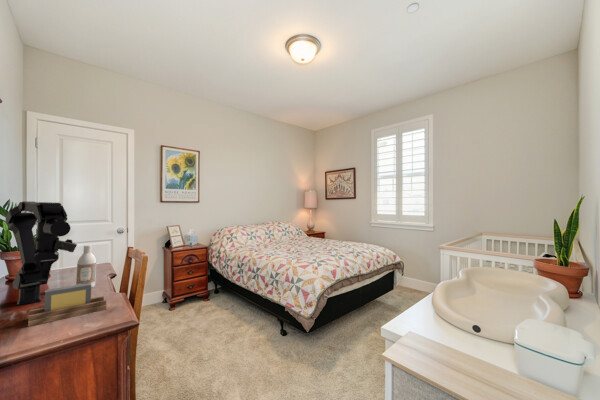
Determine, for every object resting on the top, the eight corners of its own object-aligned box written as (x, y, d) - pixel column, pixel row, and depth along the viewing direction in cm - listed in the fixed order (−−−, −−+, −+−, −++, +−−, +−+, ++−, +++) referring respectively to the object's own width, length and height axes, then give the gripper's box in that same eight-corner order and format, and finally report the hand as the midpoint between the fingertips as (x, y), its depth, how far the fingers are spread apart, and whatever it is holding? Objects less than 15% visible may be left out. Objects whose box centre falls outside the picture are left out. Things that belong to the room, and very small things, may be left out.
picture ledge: (28, 326, 79) (28, 317, 80) (29, 318, 85) (29, 309, 85) (106, 309, 94) (106, 301, 94) (102, 303, 99) (103, 295, 99)
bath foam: (74, 290, 114) (76, 246, 114) (77, 286, 119) (79, 244, 120) (94, 288, 117) (96, 245, 118) (96, 284, 123) (97, 243, 124)
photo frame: (44, 316, 84) (45, 292, 84) (44, 313, 86) (45, 290, 86) (90, 306, 92) (91, 284, 93) (89, 304, 95) (90, 283, 95)
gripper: (77, 235, 95) (75, 276, 94) (73, 231, 108) (72, 268, 107) (35, 237, 87) (32, 282, 86) (36, 233, 100) (34, 272, 99)
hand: (45, 275), depth 95 cm, fingers open, 9 cm apart
